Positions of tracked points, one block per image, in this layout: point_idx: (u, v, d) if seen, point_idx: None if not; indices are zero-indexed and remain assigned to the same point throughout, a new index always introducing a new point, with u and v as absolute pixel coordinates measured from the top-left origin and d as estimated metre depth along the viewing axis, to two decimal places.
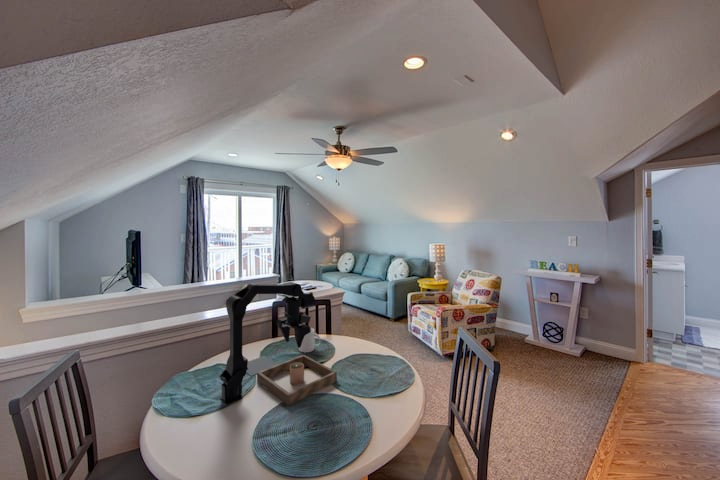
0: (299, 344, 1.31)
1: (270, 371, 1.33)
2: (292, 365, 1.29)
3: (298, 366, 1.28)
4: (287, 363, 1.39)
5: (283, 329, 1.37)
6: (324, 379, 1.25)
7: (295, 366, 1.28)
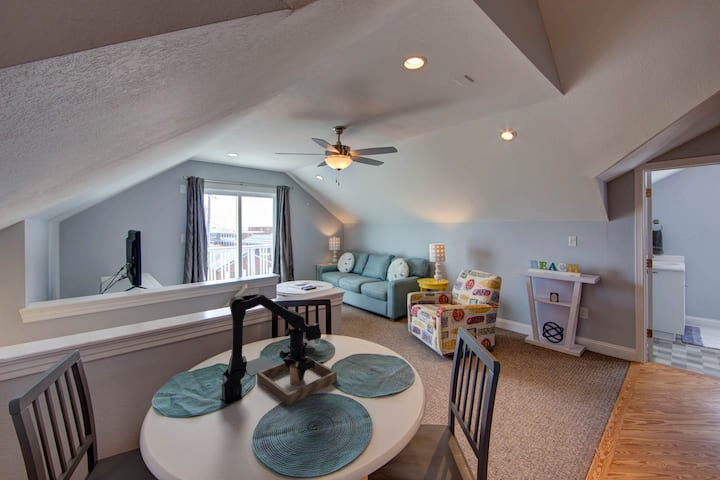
0: (301, 377, 1.27)
1: (270, 371, 1.33)
2: (292, 365, 1.29)
3: None
4: None
5: (288, 362, 1.31)
6: (324, 379, 1.25)
7: (295, 366, 1.28)
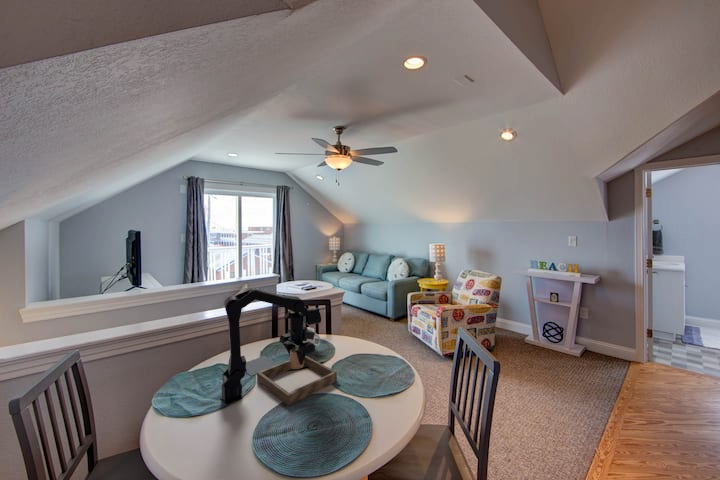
0: (301, 361, 1.26)
1: (270, 371, 1.33)
2: (292, 349, 1.29)
3: None
4: (287, 363, 1.39)
5: (288, 347, 1.30)
6: (324, 379, 1.25)
7: (295, 350, 1.28)
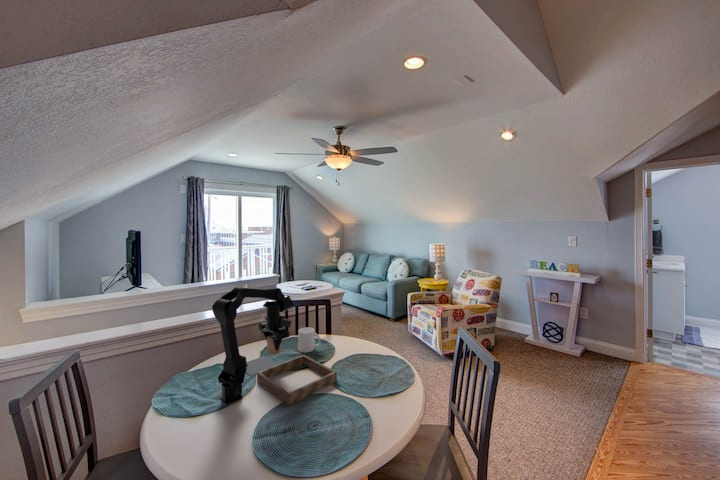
0: (277, 347, 1.34)
1: (270, 371, 1.33)
2: (269, 336, 1.37)
3: None
4: (287, 363, 1.39)
5: (266, 334, 1.38)
6: (324, 379, 1.25)
7: None
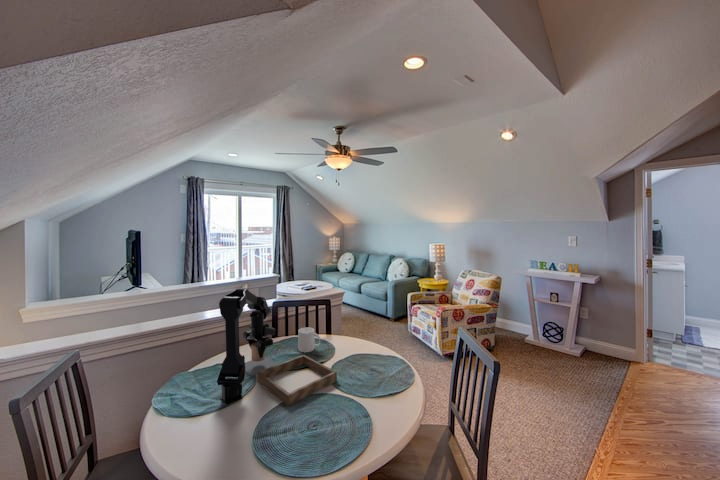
0: (261, 354, 1.40)
1: (270, 371, 1.33)
2: (254, 344, 1.43)
3: None
4: (287, 363, 1.39)
5: (250, 342, 1.44)
6: (324, 379, 1.25)
7: (256, 344, 1.42)
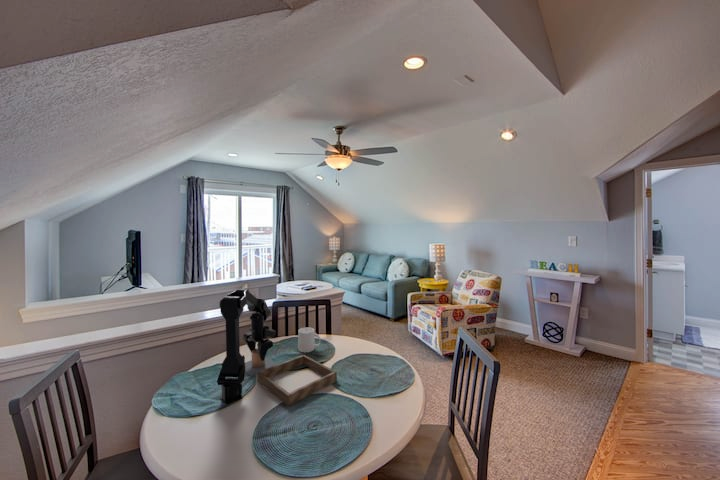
0: (262, 358, 1.39)
1: (270, 371, 1.33)
2: (254, 350, 1.43)
3: None
4: (287, 363, 1.39)
5: (249, 343, 1.45)
6: (324, 379, 1.25)
7: (256, 351, 1.42)
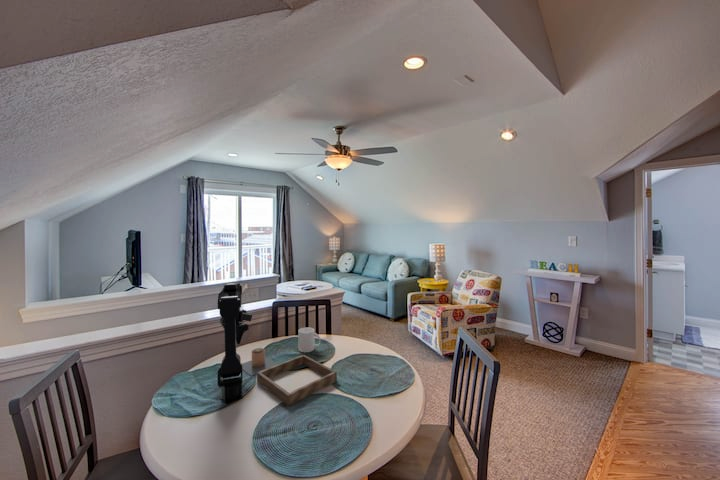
0: (238, 341, 1.39)
1: (270, 371, 1.33)
2: (254, 350, 1.43)
3: (259, 351, 1.42)
4: (287, 363, 1.39)
5: None
6: (324, 379, 1.25)
7: (256, 351, 1.42)
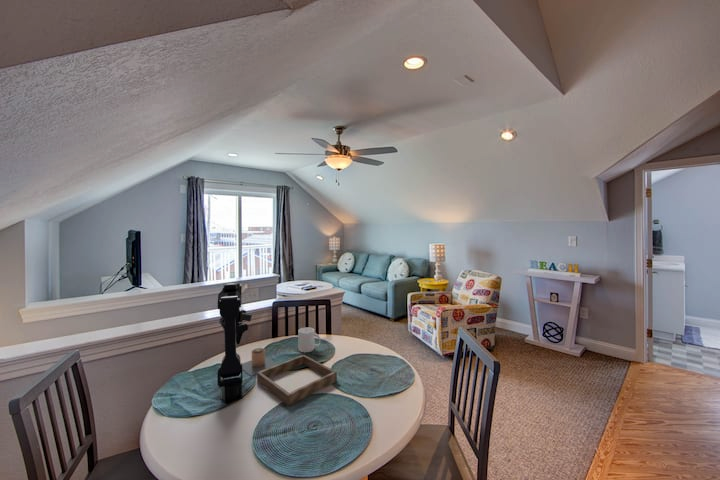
0: (238, 341, 1.39)
1: (270, 371, 1.33)
2: (254, 350, 1.43)
3: (259, 351, 1.42)
4: (287, 363, 1.39)
5: None
6: (324, 379, 1.25)
7: (256, 351, 1.42)
